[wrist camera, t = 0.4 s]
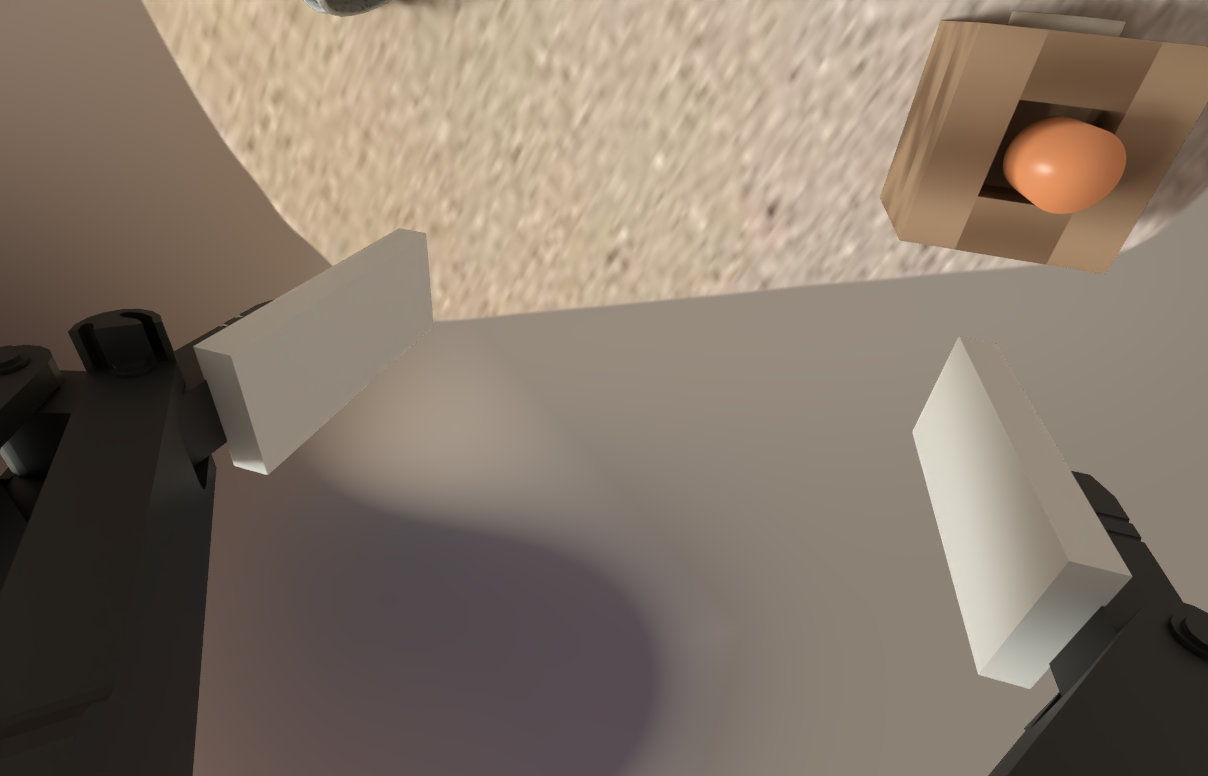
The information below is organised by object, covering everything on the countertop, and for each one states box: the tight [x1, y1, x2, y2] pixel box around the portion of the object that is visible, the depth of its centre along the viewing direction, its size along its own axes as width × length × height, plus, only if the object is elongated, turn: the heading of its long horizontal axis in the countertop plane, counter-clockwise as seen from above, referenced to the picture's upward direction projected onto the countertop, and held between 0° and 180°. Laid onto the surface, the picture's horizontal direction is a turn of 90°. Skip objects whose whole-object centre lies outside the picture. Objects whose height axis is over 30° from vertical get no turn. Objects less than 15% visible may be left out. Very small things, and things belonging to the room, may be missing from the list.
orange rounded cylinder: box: [1003, 116, 1126, 214], centre depth 24 cm, size 3×3×3 cm
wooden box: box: [880, 11, 1208, 274], centre depth 29 cm, size 10×9×8 cm
